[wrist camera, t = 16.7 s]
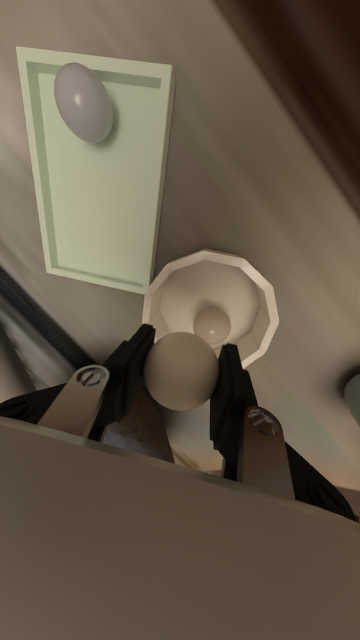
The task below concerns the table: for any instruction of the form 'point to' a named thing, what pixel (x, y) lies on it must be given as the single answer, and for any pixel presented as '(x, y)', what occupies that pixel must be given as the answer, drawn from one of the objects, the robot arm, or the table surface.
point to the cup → (353, 397)
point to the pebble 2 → (181, 371)
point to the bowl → (214, 300)
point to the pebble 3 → (212, 325)
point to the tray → (100, 169)
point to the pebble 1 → (83, 102)
